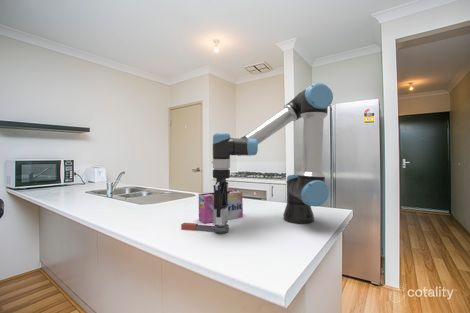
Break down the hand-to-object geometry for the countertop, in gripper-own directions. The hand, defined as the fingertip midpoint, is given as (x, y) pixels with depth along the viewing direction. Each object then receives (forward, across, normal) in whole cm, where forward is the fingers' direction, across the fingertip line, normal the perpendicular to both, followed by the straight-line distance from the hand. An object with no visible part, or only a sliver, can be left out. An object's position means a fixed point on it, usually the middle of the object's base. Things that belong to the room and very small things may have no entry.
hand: (221, 222), depth 99 cm
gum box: (+4, -20, -6) cm, 21 cm away
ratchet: (+4, 0, -7) cm, 8 cm away
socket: (0, 0, 0) cm, 0 cm away
